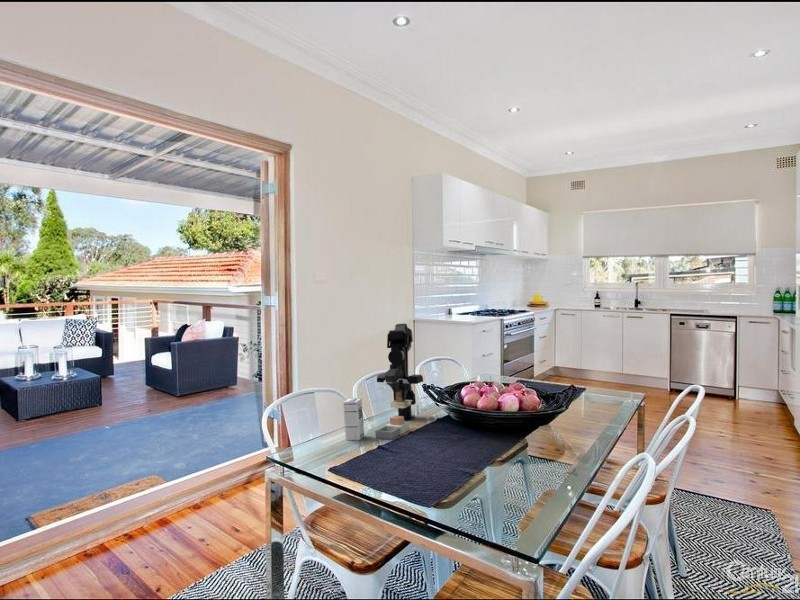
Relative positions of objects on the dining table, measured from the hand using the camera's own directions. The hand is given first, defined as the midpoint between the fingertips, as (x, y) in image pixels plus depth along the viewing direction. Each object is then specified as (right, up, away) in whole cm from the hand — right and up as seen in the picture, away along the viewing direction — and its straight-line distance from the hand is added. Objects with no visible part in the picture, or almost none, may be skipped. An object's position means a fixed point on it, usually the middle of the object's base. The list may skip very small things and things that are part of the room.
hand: (400, 399), depth 192 cm
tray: (-5, -11, -12) cm, 17 cm away
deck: (-1, -11, -6) cm, 13 cm away
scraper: (0, -3, 0) cm, 3 cm away
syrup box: (-17, -12, -12) cm, 24 cm away
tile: (-1, -8, -6) cm, 10 cm away
